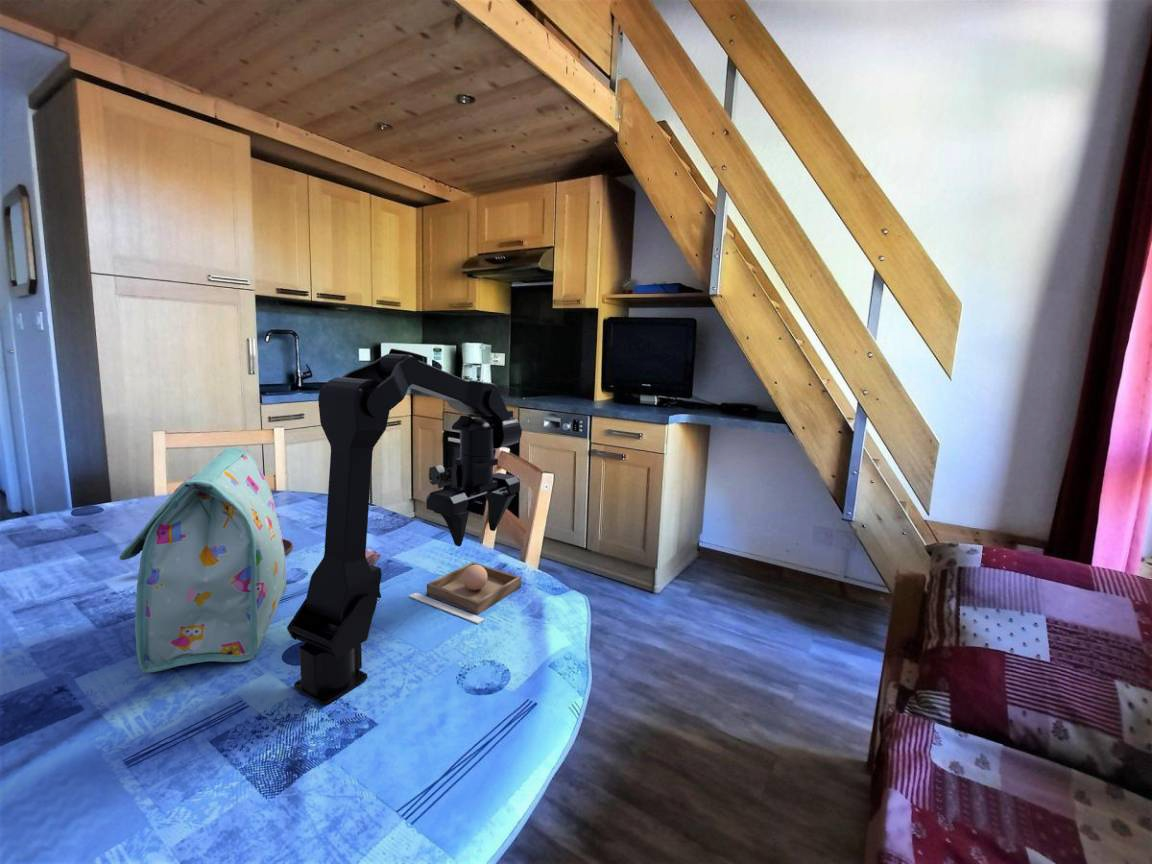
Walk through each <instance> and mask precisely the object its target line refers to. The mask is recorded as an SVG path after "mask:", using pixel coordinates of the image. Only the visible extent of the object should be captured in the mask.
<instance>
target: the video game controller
mask: <svg viewBox="0 0 1152 864" xmlns="http://www.w3.org/2000/svg"><path fill="white" fill-rule="evenodd" d="M366 558H367V561H368V563H369V565H372V566H376V564H377V563H378V562H379V560H380V558H381V553H379V552H378V551H376V550H373V549H371V548H368V549H366Z"/></svg>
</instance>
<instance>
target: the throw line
mask: <svg viewBox="0 0 1152 864" xmlns="http://www.w3.org/2000/svg"><path fill="white" fill-rule="evenodd" d="M408 597H409V598H411V599H413V600H416V601H418V602H421V603H424V604H426V605H429V606H432V607H435V608H437V609H438V610H439V609H440V610H441V611H445V612H446V613H450V614H452V615H454V616H457V617H459V618H462V619H465V620H468V621H469V622H472V623H474V624H477V625H479V624H481V623H483V622H484V621H485V618H483V617H482V616H478V615H477V614H474V613H471V612H469V611H468V612H467V611H466V610H464V609H460V608H458V607H456V606H455V607H454V606H452V605H451V604H450V605H449V604H448V603H444V602H443V601H442V602H441V601H440V600H439V601H438V599H435V598H432V597H430V596H427V595H423V594H422V593H418V592H414V593H412V594H410V595H409V596H408Z"/></svg>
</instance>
